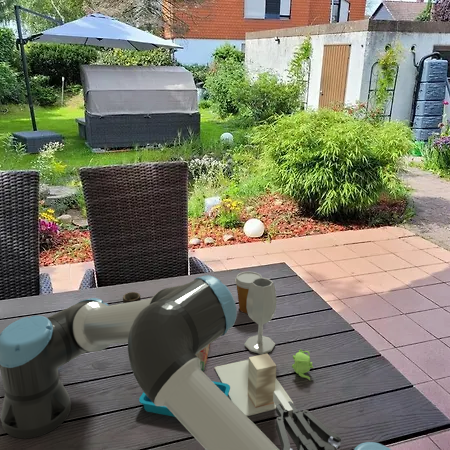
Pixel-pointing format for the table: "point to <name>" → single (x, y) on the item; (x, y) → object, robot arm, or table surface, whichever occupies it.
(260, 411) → the rubber mat
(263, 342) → the wineglass
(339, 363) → the table surface
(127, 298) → the mate gourd
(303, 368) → the green monster figurine
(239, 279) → the disposable coffee cup
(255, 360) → the birch block
